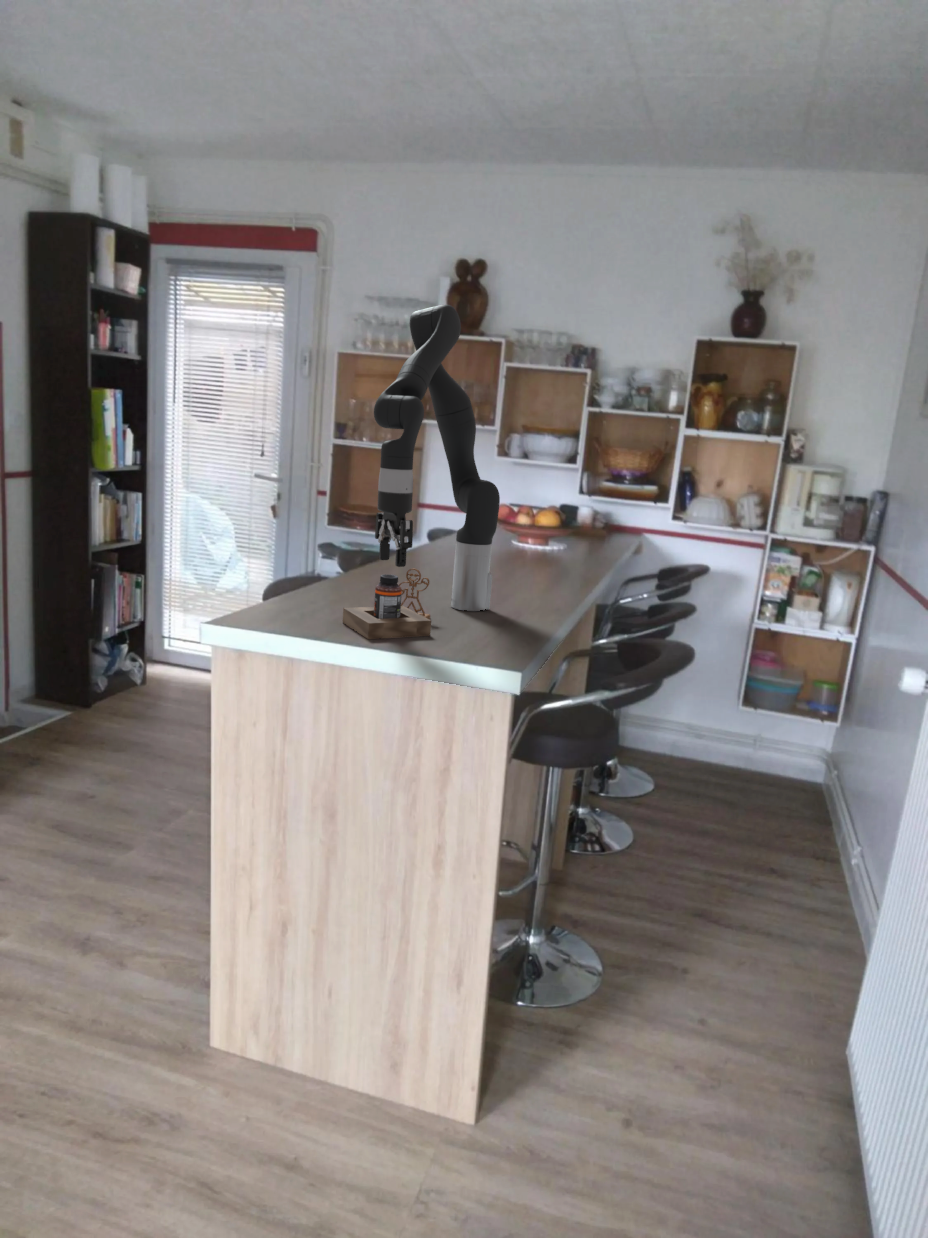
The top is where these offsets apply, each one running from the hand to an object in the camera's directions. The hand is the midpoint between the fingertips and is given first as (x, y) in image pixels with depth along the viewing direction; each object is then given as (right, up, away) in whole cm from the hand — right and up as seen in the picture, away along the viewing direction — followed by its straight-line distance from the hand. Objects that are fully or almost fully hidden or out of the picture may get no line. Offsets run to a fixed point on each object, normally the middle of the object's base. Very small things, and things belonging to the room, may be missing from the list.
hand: (392, 563), depth 191 cm
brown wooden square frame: (-2, -15, +4) cm, 15 cm away
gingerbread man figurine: (+3, -12, +17) cm, 21 cm away
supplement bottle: (-2, -14, +3) cm, 14 cm away
